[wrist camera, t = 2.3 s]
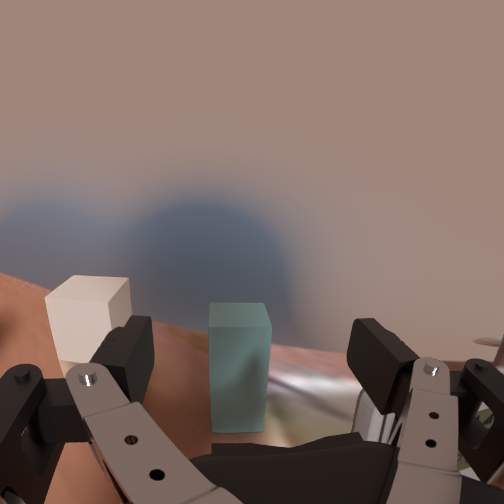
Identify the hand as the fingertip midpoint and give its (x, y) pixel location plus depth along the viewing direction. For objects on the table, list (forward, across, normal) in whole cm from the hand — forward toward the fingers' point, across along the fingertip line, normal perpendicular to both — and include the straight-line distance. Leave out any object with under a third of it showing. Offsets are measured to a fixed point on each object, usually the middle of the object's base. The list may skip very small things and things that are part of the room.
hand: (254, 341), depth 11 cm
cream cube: (+13, +13, +9) cm, 21 cm away
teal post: (+12, 0, +15) cm, 19 cm away
